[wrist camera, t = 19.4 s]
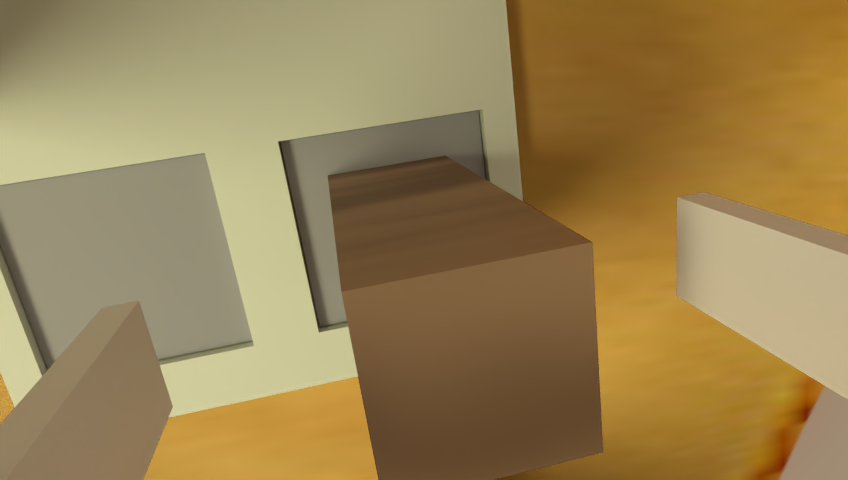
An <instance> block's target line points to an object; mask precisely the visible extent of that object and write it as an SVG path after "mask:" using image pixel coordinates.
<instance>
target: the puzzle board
mask: <svg viewBox="0 0 848 480" xmlns="http://www.w3.org/2000/svg"><path fill="white" fill-rule="evenodd" d="M279 141H280V142H279ZM280 143H281V147H282V152H283V157H284V161H285V166H286V171H287V175H288V180H289V185H290V189H289V185H288V180H287V175H286V171H285V166H284V161H283V157H282V152H281V147H280ZM440 156H447V157H449V158H450V159H452V160H454V161H455V162H457V163H459V164H460V165H462V166H464V167H466V168H467V169H469V170H471V171H472V172H474V173H476V174H477V175H479V176H481V177H483V178H484V179H486V180H488V181H489V182H491V183H493V184H494V185H496V186H498V187H499V188H501V189H503V190H505V191H506V192H508V193H510V194H511V195H513V196H515V197H516V198H518V199H520V200H522V201H523V194H522V183H521V171H520V159H519V148H518V136H517V124H516V113H515V101H514V89H513V78H512V66H511V55H510V43H509V31H508V20H507V8H506V0H0V373H1V375H2V378H3V380H4V382H5V385H6V387H7V390H8V392H9V394H10V397H11V399H12V402H13V404H14V407H16V406H17V404H18V403H19V402H20V401H21V400H22V399H23V398H24V397H25V395H26V394H27V393H28V392H29V391H30V390H31V389H32V387H33V386H34V385H35V384H36V383H37V382H38V381H39V379H40V378H41V377H42V376H43V375H44V374H45V373H46V371H47V370H48V369H49V368H50V367H51V366H52V365H53V363H54V362H55V361H56V360H57V359H58V358H59V357H60V355H61V354H62V353H63V352H64V351H65V350H66V349H67V347H68V346H69V345H70V344H71V343H72V342H73V341H74V340H75V338H76V337H77V336H78V335H79V334H80V333H81V332H82V330H83V329H84V328H85V327H86V326H87V325H88V324H89V322H90V321H91V320H92V319H93V318H94V317H95V316H96V314H97V313H98V312H99V311H100V310H101V309H102V308H103V307H109V306H114V305H119V304H124V303H129V302H135V301H139V302H140V305H141V309H142V312H143V315H144V318H145V321H146V324H147V327H148V330H149V334H150V337H151V340H152V343H153V346H154V349H155V352H156V355H157V358H158V362H159V365H160V368H161V371H162V374H163V377H164V380H165V383H166V387H167V390H168V393H169V396H170V399H171V402H172V405H173V408H172V410H171V413H170V415H169V417H174V416H178V415H183V414H187V413H192V412H197V411H201V410H206V409H210V408H215V407H220V406H224V405H229V404H233V403H238V402H243V401H247V400H252V399H256V398H261V397H265V396H270V395H275V394H279V393H284V392H288V391H293V390H298V389H302V388H307V387H311V386H316V385H321V384H325V383H330V382H334V381H339V380H344V379H348V378H353V377H357V376H358V374H357V369H356V364H355V359H354V354H353V348H352V343H351V338H350V333H349V328H348V323H347V318H346V313H345V308H344V303H343V298H342V293H341V285H340V277H339V269H338V260H337V252H336V243H335V235H334V226H333V218H332V209H331V201H330V192H329V184H328V175H334V174H340V173H345V172H351V171H357V170H363V169H369V168H375V167H381V166H387V165H393V164H398V163H404V162H410V161H416V160H422V159H428V158H434V157H440ZM290 190H291V194H292V199H293V203H292V199H291V194H290ZM293 204H294V208H295V213H296V218H297V222H298V227H299V232H300V236H299V232H298V227H297V222H296V218H295V213H294V208H293ZM300 237H301V241H302V246H303V250H302V246H301V241H300ZM303 251H304V255H305V260H306V264H305V260H304V255H303ZM306 265H307V269H306ZM307 270H308V274H309V278H308V274H307ZM309 279H310V283H309ZM310 284H311V288H312V293H313V297H312V293H311V288H310ZM313 298H314V302H315V307H316V311H315V307H314V302H313ZM316 312H317V316H316ZM317 317H318V321H319V325H318V321H317ZM169 417H168V418H169Z"/></svg>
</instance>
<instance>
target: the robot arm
mask: <svg viewBox="0 0 848 480" xmlns="http://www.w3.org/2000/svg"><path fill="white" fill-rule="evenodd" d="M676 296H678V297H679V298H681V299H683V300H684V301H686V302H688V303H689V304H691V305H693V306H694V307H696V308H698V309H699V310H701V311H702V312H704V313H706V314H707V315H709V316H711V317H712V318H714V319H716V320H717V321H719V322H721V323H722V324H724V325H726V326H727V327H729V328H730V329H732V330H734V331H735V332H737V333H739V334H740V335H742V336H744V337H745V338H747V339H749V340H750V341H752V342H754V343H755V344H757V345H758V346H760V347H762V348H763V349H765V350H767V351H768V352H770V353H772V354H773V355H775V356H777V357H778V358H780V359H782V360H783V361H785V362H786V363H788V364H790V365H791V366H793V367H795V368H796V369H798V370H800V371H801V372H803V373H805V374H806V375H808V376H810V377H811V378H813V379H814V380H816V381H818V382H819V383H821V384H823V385H824V386H826V387H828V388H829V389H831V390H833V391H834V392H836V393H838V394H839V395H841V396H843V397H844V398H846V399H848V235H844V234H841V233H838V232H835V231H831V230H828V229H825V228H821V227H818V226H815V225H811V224H808V223H805V222H801V221H798V220H795V219H792V218H788V217H785V216H782V215H778V214H775V213H772V212H768V211H765V210H762V209H758V208H755V207H752V206H749V205H745V204H742V203H739V202H735V201H732V200H729V199H725V198H722V197H719V196H715V195H712V194H709V193H706V192H702V193H697V194H692V195H686V196H681V197H677V289H676ZM172 408H173V405H172V402H171V399H170V396H169V393H168V390H167V387H166V383H165V380H164V377H163V374H162V371H161V368H160V365H159V362H158V358H157V355H156V352H155V349H154V346H153V343H152V340H151V337H150V334H149V330H148V327H147V324H146V321H145V318H144V315H143V312H142V309H141V305H140V302H139V301H135V302H129V303H124V304H119V305H114V306H109V307H103V308H102V309H101V310H100V311H99V312H98V313H97V314H96V316H95V317H94V318H93V319H92V320H91V321H90V322H89V324H88V325H87V326H86V327H85V328H84V329H83V330H82V332H81V333H80V334H79V335H78V336H77V337H76V338H75V340H74V341H73V342H72V343H71V344H70V345H69V346H68V347H67V349H66V350H65V351H64V352H63V353H62V354H61V355H60V357H59V358H58V359H57V360H56V361H55V362H54V363H53V365H52V366H51V367H50V368H49V369H48V370H47V371H46V373H45V374H44V375H43V376H42V377H41V378H40V379H39V381H38V382H37V383H36V384H35V385H34V386H33V387H32V389H31V390H30V391H29V392H28V393H27V394H26V395H25V397H24V398H23V399H22V400H21V401H20V402H19V403H18V404H17V406H16V407H15V408H14V409H13V410H12V411H11V412H10V414H9V415H8V416H7V417H6V418H5V419H4V420H3V422H2V423H1V424H0V480H143V479H144V477H145V474H146V472H147V469H148V467H149V464H150V462H151V459H152V457H153V454H154V452H155V449H156V447H157V445H158V442H159V440H160V437H161V435H162V432H163V430H164V427H165V425H166V422H167V420H168V417H169V415H170V413H171V410H172Z"/></svg>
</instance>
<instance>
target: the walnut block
mask: <svg viewBox="0 0 848 480" xmlns="http://www.w3.org/2000/svg"><path fill="white" fill-rule="evenodd" d="M328 184H329V192H330V201H331V209H332V218H333V226H334V235H335V243H336V252H337V260H338V269H339V277H340V285H341V293H342V298H343V303H344V308H345V313H346V318H347V323H348V328H349V333H350V338H351V343H352V348H353V354H354V359H355V364H356V369H357V374H358V379H359V384H360V389H361V394H362V399H363V404H364V409H365V414H366V419H367V424H368V429H369V434H370V439H371V444H372V449H373V454H374V459H375V464H376V469H377V474H378V479H379V480H496V479H499V478H503V477H507V476H511V475H515V474H519V473H523V472H527V471H531V470H535V469H539V468H543V467H547V466H551V465H555V464H559V463H563V462H566V461H570V460H574V459H578V458H582V457H586V456H590V455H594V454H598V453H602V452H603V441H602V422H601V403H600V383H599V364H598V345H597V325H596V306H595V287H594V267H593V248H592V242H591V241H589V240H588V239H586V238H584V237H583V236H581V235H579V234H577V233H576V232H574V231H572V230H571V229H569V228H567V227H566V226H564V225H562V224H561V223H559V222H557V221H555V220H554V219H552V218H550V217H549V216H547V215H545V214H544V213H542V212H540V211H538V210H537V209H535V208H533V207H532V206H530V205H528V204H527V203H525V202H523V201H522V200H520V199H518V198H516V197H515V196H513V195H511V194H510V193H508V192H506V191H505V190H503V189H501V188H499V187H498V186H496V185H494V184H493V183H491V182H489V181H488V180H486V179H484V178H483V177H481V176H479V175H477V174H476V173H474V172H472V171H471V170H469V169H467V168H466V167H464V166H462V165H460V164H459V163H457V162H455V161H454V160H452V159H450V158H449V157H447V156H440V157H434V158H428V159H422V160H416V161H410V162H404V163H398V164H393V165H387V166H381V167H375V168H369V169H363V170H357V171H351V172H345V173H340V174H334V175H328Z"/></svg>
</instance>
